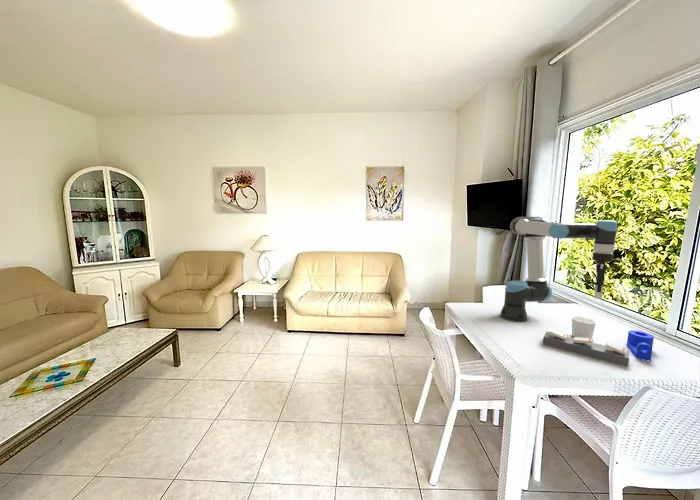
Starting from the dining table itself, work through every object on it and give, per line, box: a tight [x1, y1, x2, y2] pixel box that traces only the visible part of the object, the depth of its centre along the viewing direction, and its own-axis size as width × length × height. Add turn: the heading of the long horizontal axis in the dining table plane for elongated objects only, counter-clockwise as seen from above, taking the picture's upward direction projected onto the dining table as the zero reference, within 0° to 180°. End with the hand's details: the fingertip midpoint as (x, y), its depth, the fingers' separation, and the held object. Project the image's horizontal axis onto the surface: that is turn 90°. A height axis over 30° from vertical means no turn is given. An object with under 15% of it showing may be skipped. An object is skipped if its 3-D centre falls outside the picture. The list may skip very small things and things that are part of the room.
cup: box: [571, 316, 597, 338], centre depth 159 cm, size 10×10×10 cm
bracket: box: [626, 329, 655, 362], centre depth 143 cm, size 20×9×8 cm, turn 141°
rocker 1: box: [548, 328, 568, 340], centre depth 150 cm, size 7×4×1 cm, turn 48°
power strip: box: [542, 331, 630, 367], centre depth 143 cm, size 32×9×5 cm, turn 48°
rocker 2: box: [573, 337, 594, 344], centre depth 143 cm, size 7×4×1 cm, turn 48°
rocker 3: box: [605, 341, 627, 355], centre depth 135 cm, size 7×4×1 cm, turn 48°
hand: (597, 295), depth 144 cm, fingers open, 13 cm apart
